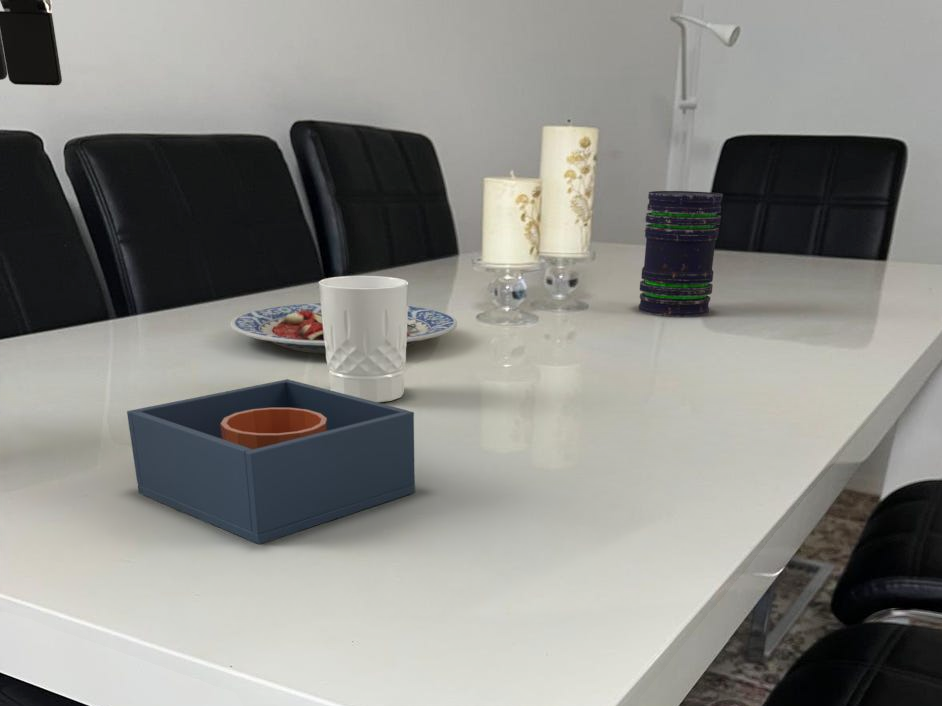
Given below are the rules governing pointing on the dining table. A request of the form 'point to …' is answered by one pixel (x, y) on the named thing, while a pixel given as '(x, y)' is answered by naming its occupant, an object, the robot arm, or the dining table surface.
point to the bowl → (271, 426)
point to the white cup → (365, 335)
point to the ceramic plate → (305, 327)
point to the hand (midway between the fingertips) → (9, 81)
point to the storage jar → (679, 253)
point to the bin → (273, 460)
